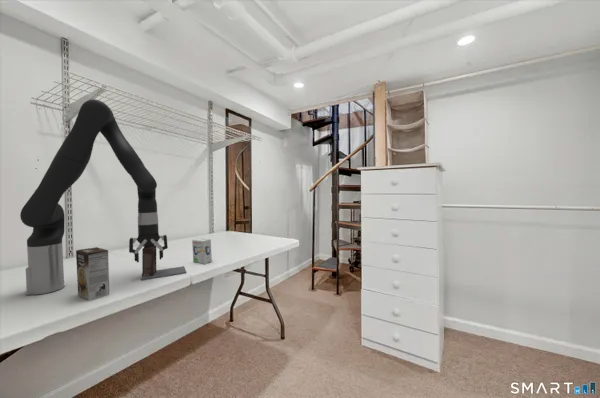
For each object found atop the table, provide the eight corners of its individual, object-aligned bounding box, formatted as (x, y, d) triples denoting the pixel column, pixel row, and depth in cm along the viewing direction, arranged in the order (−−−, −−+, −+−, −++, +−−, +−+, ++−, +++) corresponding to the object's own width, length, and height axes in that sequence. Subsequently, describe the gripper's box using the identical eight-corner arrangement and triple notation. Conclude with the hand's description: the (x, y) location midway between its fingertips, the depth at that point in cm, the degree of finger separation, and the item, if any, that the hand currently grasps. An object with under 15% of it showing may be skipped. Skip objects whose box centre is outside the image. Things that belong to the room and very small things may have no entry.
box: (154, 275, 107) (153, 247, 107) (142, 277, 106) (141, 248, 105) (157, 271, 113) (156, 244, 112) (146, 272, 111) (145, 245, 111)
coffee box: (76, 295, 89) (75, 250, 88) (98, 289, 95) (97, 246, 94) (88, 301, 84) (86, 253, 84) (110, 294, 90) (108, 249, 89)
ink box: (212, 261, 130) (211, 239, 129) (204, 264, 125) (203, 240, 125) (200, 259, 134) (199, 237, 133) (192, 262, 129) (191, 239, 129)
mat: (141, 280, 103) (141, 279, 103) (142, 273, 112) (142, 272, 112) (186, 273, 112) (186, 271, 112) (184, 267, 121) (184, 266, 121)
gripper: (127, 225, 102) (128, 265, 102) (167, 222, 109) (168, 260, 109) (128, 223, 108) (130, 260, 109) (166, 220, 115) (167, 256, 116)
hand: (149, 260), depth 109 cm, fingers open, 8 cm apart
